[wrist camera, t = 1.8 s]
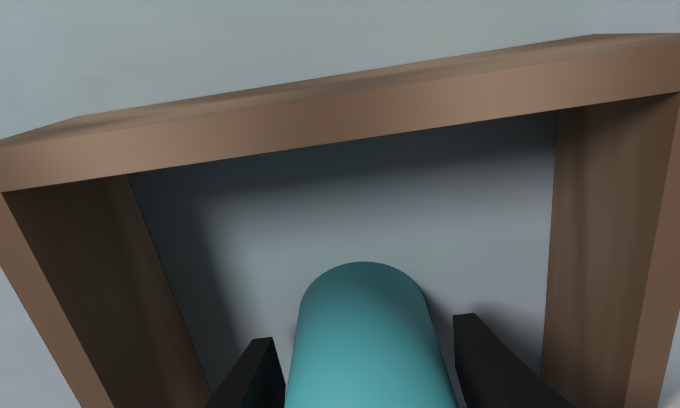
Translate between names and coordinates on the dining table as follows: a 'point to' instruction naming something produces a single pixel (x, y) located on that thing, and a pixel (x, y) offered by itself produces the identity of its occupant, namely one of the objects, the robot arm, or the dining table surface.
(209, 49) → the dining table surface
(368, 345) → the capsule
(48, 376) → the dining table surface
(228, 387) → the robot arm
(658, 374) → the open u-shaped frame
